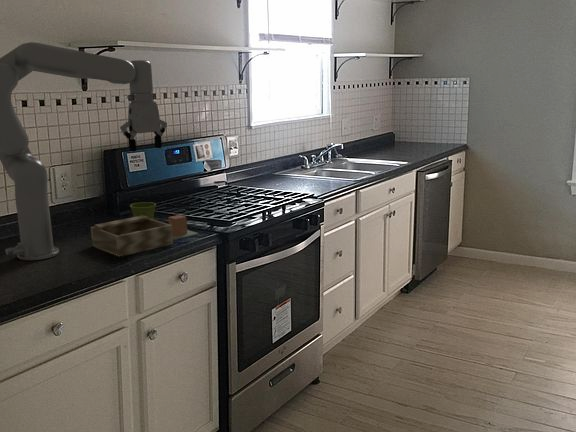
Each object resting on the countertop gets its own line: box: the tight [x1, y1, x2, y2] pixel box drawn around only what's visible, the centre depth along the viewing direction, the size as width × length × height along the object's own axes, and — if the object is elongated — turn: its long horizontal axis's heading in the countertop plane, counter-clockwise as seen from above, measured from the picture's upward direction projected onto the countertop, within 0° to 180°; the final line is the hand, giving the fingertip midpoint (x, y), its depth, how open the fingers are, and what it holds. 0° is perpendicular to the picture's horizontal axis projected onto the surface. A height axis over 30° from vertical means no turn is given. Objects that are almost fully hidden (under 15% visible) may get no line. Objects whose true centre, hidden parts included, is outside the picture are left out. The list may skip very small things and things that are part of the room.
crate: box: [90, 215, 174, 258], centre depth 217 cm, size 20×18×7 cm
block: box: [168, 214, 188, 236], centre depth 228 cm, size 4×4×6 cm
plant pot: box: [129, 201, 157, 220], centre depth 239 cm, size 9×9×9 cm
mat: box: [173, 229, 200, 241], centre depth 229 cm, size 10×10×1 cm
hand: (145, 149), depth 222 cm, fingers open, 9 cm apart
